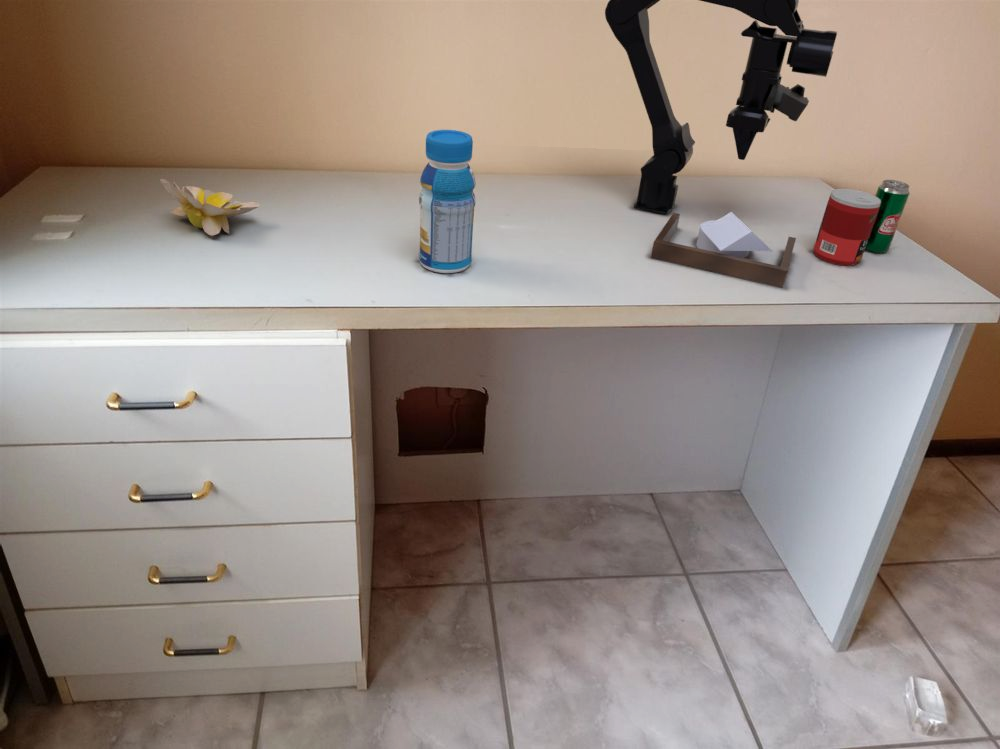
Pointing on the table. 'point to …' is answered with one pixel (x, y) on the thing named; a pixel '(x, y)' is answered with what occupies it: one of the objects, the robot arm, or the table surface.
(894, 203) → the soda can
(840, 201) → the canned food
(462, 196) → the beverage bottle
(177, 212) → the decorative flower
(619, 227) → the table surface
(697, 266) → the bay
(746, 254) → the wedge on round base
